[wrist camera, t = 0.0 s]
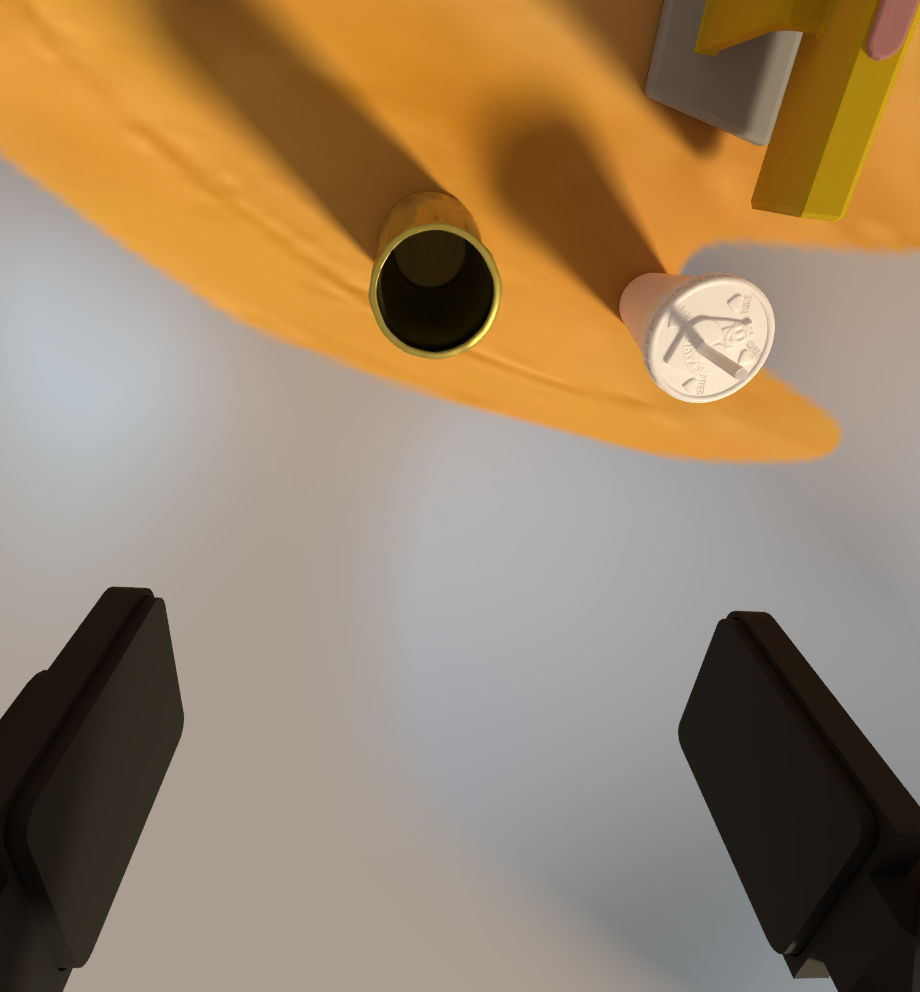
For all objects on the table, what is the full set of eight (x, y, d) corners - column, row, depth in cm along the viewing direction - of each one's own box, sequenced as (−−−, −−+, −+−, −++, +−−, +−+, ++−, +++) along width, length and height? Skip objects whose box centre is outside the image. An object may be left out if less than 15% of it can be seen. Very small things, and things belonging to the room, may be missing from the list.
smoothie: (585, 275, 38) (666, 330, 25) (686, 231, 37) (820, 266, 24) (613, 368, 41) (697, 458, 28) (707, 329, 40) (836, 405, 27)
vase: (368, 285, 37) (343, 348, 25) (391, 176, 34) (376, 185, 22) (464, 313, 38) (486, 387, 26) (494, 209, 36) (535, 236, 23)
